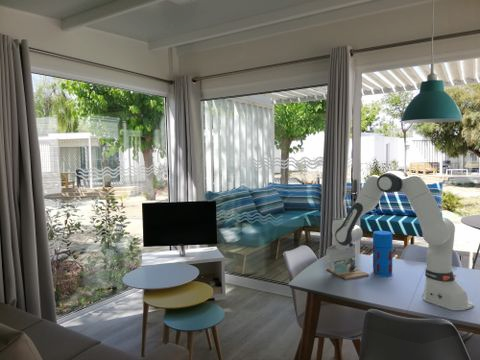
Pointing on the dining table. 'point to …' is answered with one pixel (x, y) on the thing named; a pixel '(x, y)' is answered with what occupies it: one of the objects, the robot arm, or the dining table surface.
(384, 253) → the thermos
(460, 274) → the dining table surface
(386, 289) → the dining table surface
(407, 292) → the dining table surface
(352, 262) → the metal door knob
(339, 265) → the rotary switch
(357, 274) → the board
